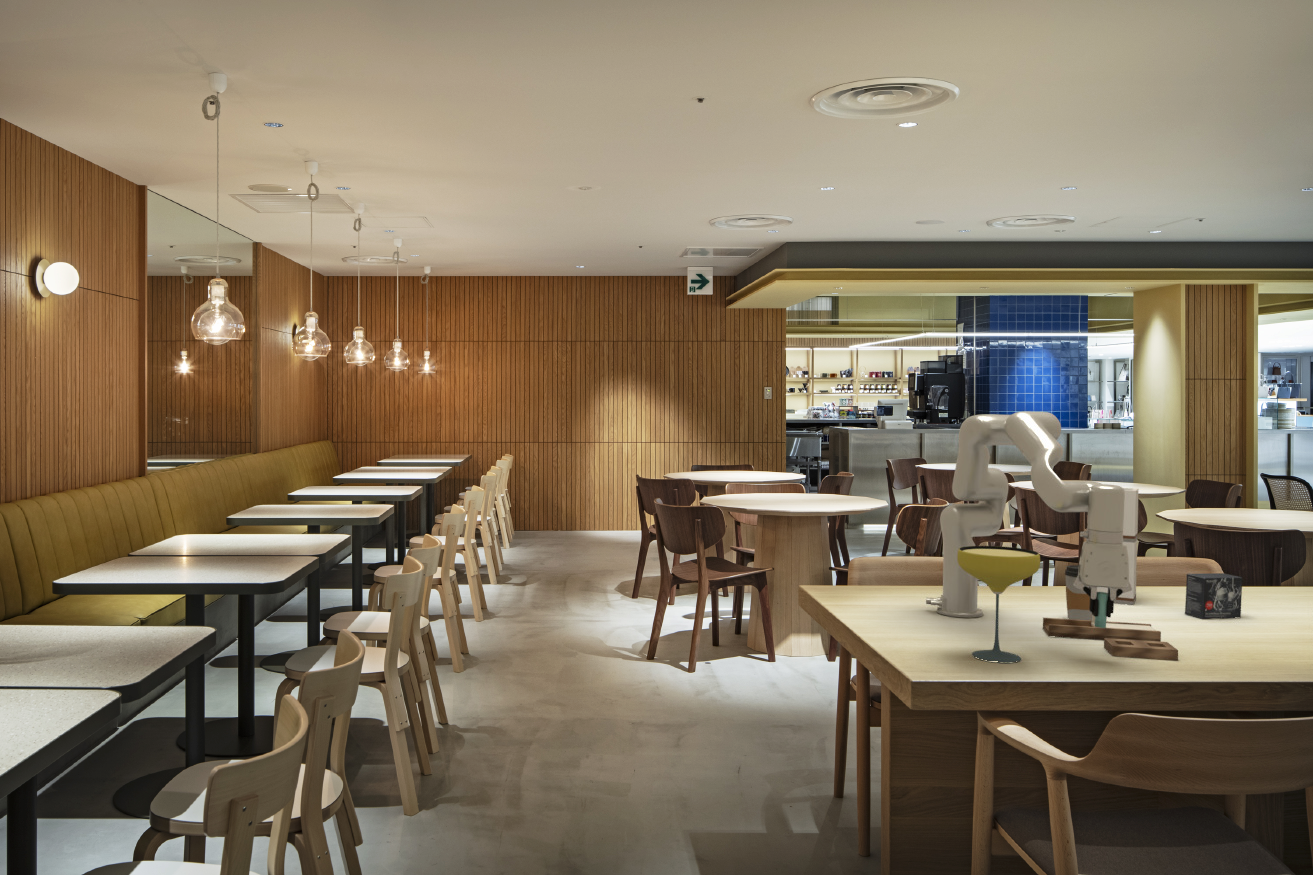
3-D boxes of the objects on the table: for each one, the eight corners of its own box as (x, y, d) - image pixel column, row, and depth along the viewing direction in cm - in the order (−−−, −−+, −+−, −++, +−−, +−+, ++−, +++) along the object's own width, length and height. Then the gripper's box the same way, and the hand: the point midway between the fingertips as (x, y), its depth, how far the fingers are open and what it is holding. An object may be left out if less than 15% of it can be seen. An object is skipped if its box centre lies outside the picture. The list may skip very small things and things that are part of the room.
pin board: (1112, 655, 210) (1112, 645, 210) (1103, 647, 218) (1104, 637, 218) (1177, 660, 207) (1178, 650, 207) (1167, 651, 215) (1167, 641, 215)
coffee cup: (1100, 624, 243) (1101, 570, 243) (1068, 623, 245) (1069, 569, 244) (1092, 618, 251) (1093, 565, 251) (1060, 616, 253) (1061, 564, 252)
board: (1049, 636, 229) (1049, 624, 229) (1042, 628, 238) (1043, 617, 238) (1160, 643, 223) (1160, 631, 223) (1149, 635, 231) (1150, 623, 231)
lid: (1097, 630, 227) (1097, 618, 227) (1091, 625, 234) (1091, 613, 233) (1157, 634, 224) (1157, 621, 224) (1149, 628, 230) (1150, 616, 230)
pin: (1095, 627, 207) (1097, 593, 207) (1093, 624, 209) (1095, 591, 209) (1106, 628, 206) (1108, 594, 206) (1105, 625, 209) (1106, 592, 208)
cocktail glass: (995, 671, 196) (997, 558, 196) (939, 651, 213) (941, 547, 212) (1056, 663, 203) (1058, 554, 203) (996, 644, 220) (998, 544, 219)
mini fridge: (1136, 599, 279) (1138, 488, 278) (1133, 605, 270) (1135, 490, 269) (1095, 595, 285) (1098, 486, 285) (1091, 600, 276) (1094, 488, 276)
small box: (1203, 619, 251) (1204, 577, 251) (1184, 614, 258) (1184, 573, 258) (1242, 618, 254) (1243, 576, 254) (1222, 613, 261) (1223, 572, 260)
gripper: (1071, 537, 205) (1067, 616, 206) (1147, 542, 201) (1143, 622, 202) (1064, 533, 212) (1061, 609, 213) (1137, 537, 208) (1134, 614, 209)
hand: (1101, 614), depth 208 cm, fingers closed on pin, 2 cm apart
